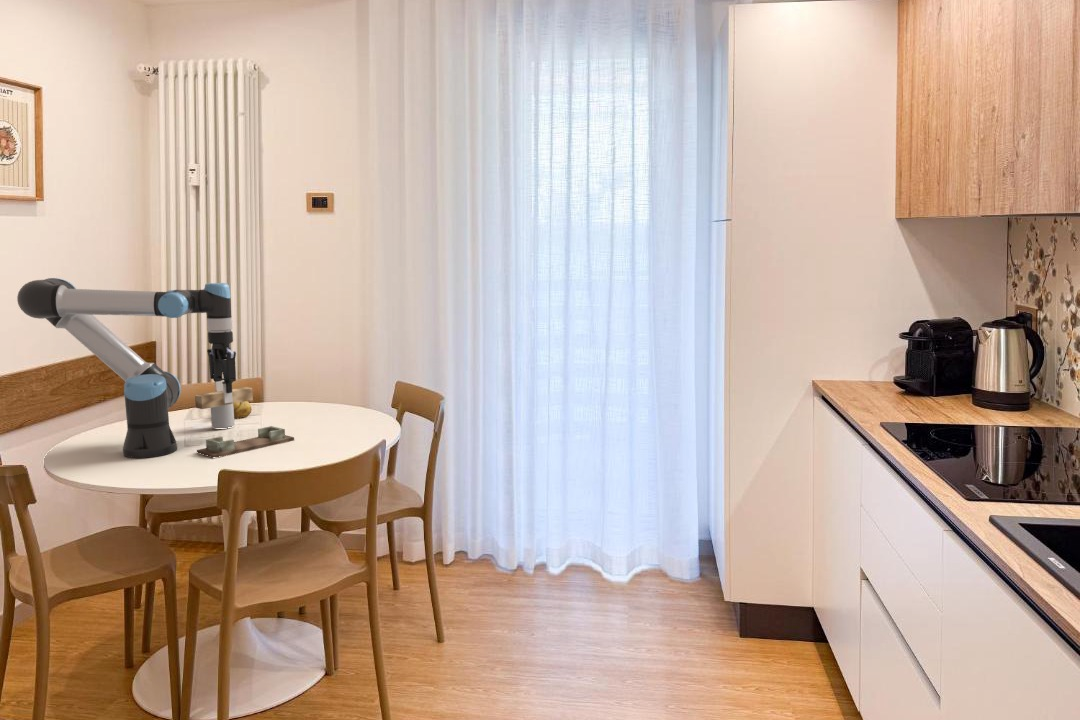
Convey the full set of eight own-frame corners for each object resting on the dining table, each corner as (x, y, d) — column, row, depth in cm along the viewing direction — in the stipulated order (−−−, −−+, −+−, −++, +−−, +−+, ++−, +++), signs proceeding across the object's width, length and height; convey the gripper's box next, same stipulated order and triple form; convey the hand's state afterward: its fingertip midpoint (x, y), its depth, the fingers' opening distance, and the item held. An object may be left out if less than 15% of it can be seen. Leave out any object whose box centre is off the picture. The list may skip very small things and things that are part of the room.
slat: (202, 409, 258) (201, 396, 257) (195, 407, 260) (194, 395, 260) (252, 400, 272) (252, 388, 271) (246, 398, 274) (245, 387, 274)
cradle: (214, 458, 243) (213, 445, 242) (196, 453, 249) (195, 440, 249) (294, 440, 265) (293, 428, 264) (276, 435, 271) (275, 424, 270)
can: (238, 425, 287) (236, 392, 285) (228, 430, 280) (226, 396, 278) (218, 425, 288) (216, 392, 286) (207, 430, 280) (205, 395, 279)
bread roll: (222, 414, 307) (220, 393, 305) (249, 411, 311) (247, 391, 310) (225, 420, 295) (224, 399, 294) (253, 418, 300) (252, 396, 298)
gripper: (245, 331, 260) (249, 403, 264) (216, 328, 271) (221, 397, 274) (223, 333, 254) (228, 406, 258) (195, 330, 265) (200, 400, 268)
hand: (224, 401), depth 266 cm, fingers closed on slat, 4 cm apart
